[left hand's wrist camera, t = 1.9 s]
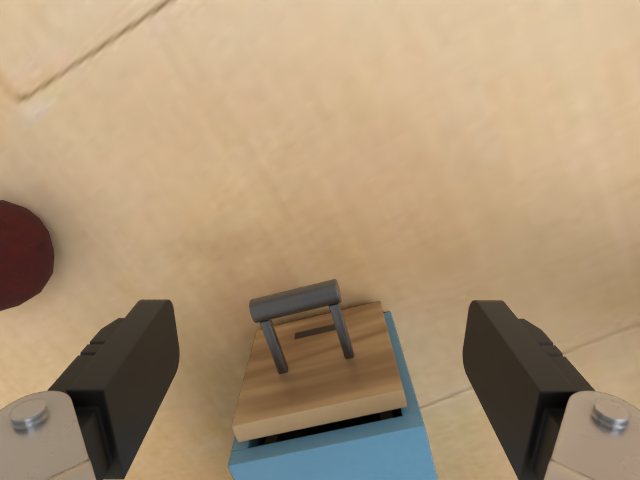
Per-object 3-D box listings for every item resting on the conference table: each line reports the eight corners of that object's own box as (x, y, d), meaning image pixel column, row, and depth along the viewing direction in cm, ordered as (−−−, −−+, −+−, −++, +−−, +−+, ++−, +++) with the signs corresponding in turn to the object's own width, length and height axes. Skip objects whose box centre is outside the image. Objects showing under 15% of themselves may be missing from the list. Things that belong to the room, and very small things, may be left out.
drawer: (233, 269, 31) (196, 348, 22) (363, 236, 30) (381, 304, 21) (326, 513, 39) (327, 642, 30) (428, 494, 39) (462, 621, 29)
